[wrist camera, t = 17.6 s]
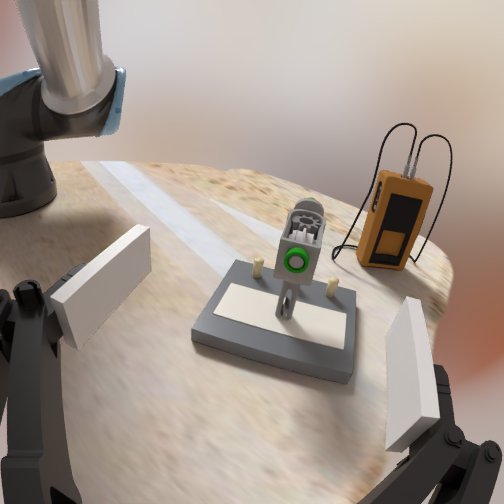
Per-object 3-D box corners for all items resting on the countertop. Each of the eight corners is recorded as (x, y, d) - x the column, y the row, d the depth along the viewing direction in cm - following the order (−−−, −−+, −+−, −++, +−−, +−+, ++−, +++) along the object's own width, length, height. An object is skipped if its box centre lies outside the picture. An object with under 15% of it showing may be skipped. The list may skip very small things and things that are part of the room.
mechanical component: (305, 287, 33) (328, 199, 28) (289, 359, 25) (322, 254, 19) (278, 280, 34) (296, 191, 28) (254, 350, 25) (276, 243, 20)
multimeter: (399, 240, 51) (433, 129, 40) (423, 274, 42) (469, 145, 32) (320, 229, 50) (347, 104, 39) (333, 264, 41) (372, 112, 31)
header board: (191, 340, 27) (191, 311, 25) (234, 270, 37) (237, 244, 35) (346, 384, 25) (361, 358, 23) (352, 301, 35) (361, 276, 33)
